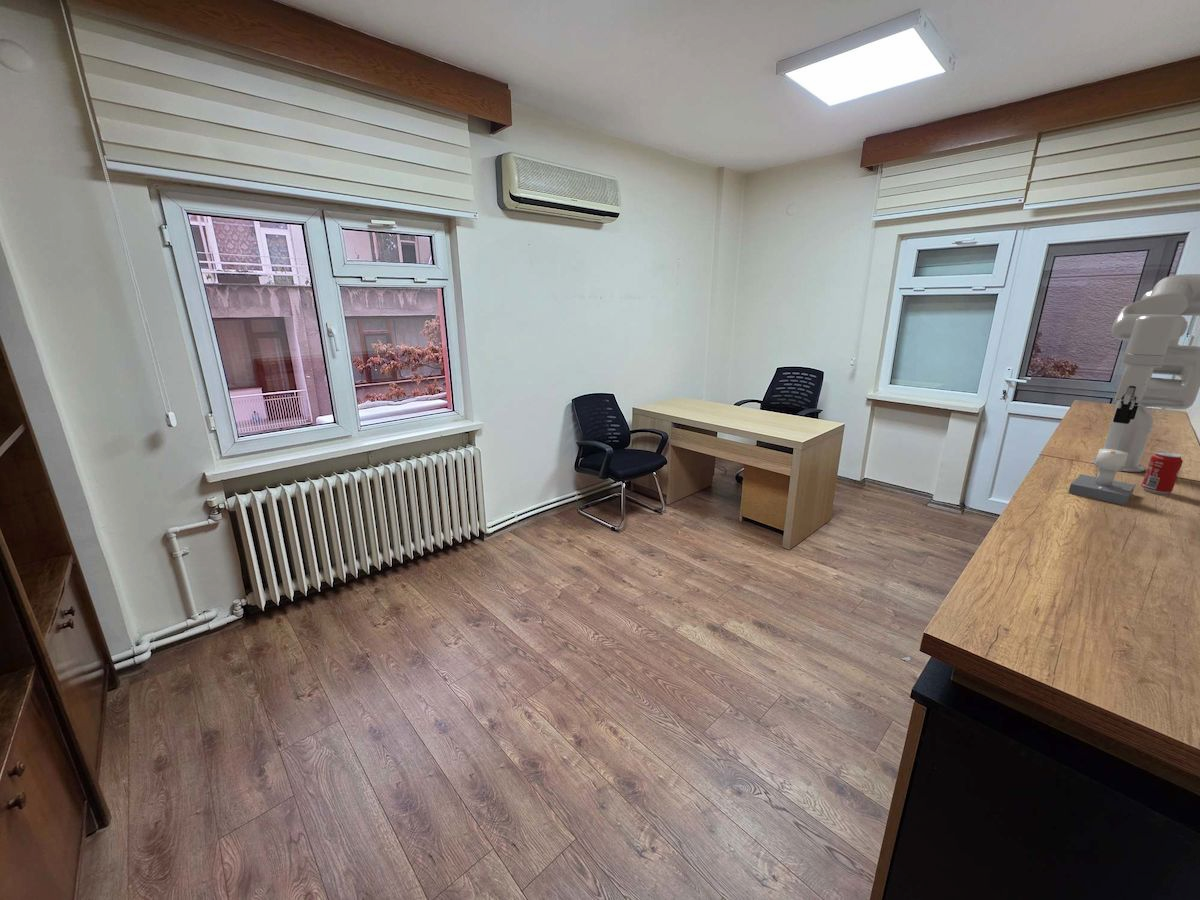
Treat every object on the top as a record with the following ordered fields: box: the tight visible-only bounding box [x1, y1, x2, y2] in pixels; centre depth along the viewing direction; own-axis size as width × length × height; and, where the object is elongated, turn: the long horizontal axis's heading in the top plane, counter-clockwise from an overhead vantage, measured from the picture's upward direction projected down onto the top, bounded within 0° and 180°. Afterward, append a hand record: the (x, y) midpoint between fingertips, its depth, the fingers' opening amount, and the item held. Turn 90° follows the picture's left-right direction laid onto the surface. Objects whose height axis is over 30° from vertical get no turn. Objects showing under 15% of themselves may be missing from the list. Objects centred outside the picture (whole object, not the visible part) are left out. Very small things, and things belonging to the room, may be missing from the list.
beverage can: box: [1141, 451, 1184, 495], centre depth 146 cm, size 6×6×12 cm
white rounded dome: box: [1094, 448, 1128, 472], centre depth 143 cm, size 6×6×5 cm
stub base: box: [1068, 468, 1136, 506], centre depth 145 cm, size 14×12×8 cm
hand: (1123, 420), depth 139 cm, fingers open, 9 cm apart
